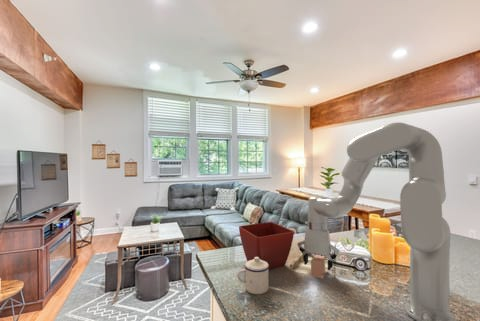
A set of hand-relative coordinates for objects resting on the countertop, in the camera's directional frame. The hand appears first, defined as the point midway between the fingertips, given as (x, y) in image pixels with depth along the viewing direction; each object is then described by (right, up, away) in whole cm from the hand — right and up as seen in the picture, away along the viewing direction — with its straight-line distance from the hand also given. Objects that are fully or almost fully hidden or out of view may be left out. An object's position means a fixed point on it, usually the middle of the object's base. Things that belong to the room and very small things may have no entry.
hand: (317, 266), depth 102 cm
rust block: (0, -3, 0) cm, 3 cm away
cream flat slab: (0, -3, +7) cm, 8 cm away
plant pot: (-21, -4, +9) cm, 23 cm away
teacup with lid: (-28, -4, -11) cm, 30 cm away
